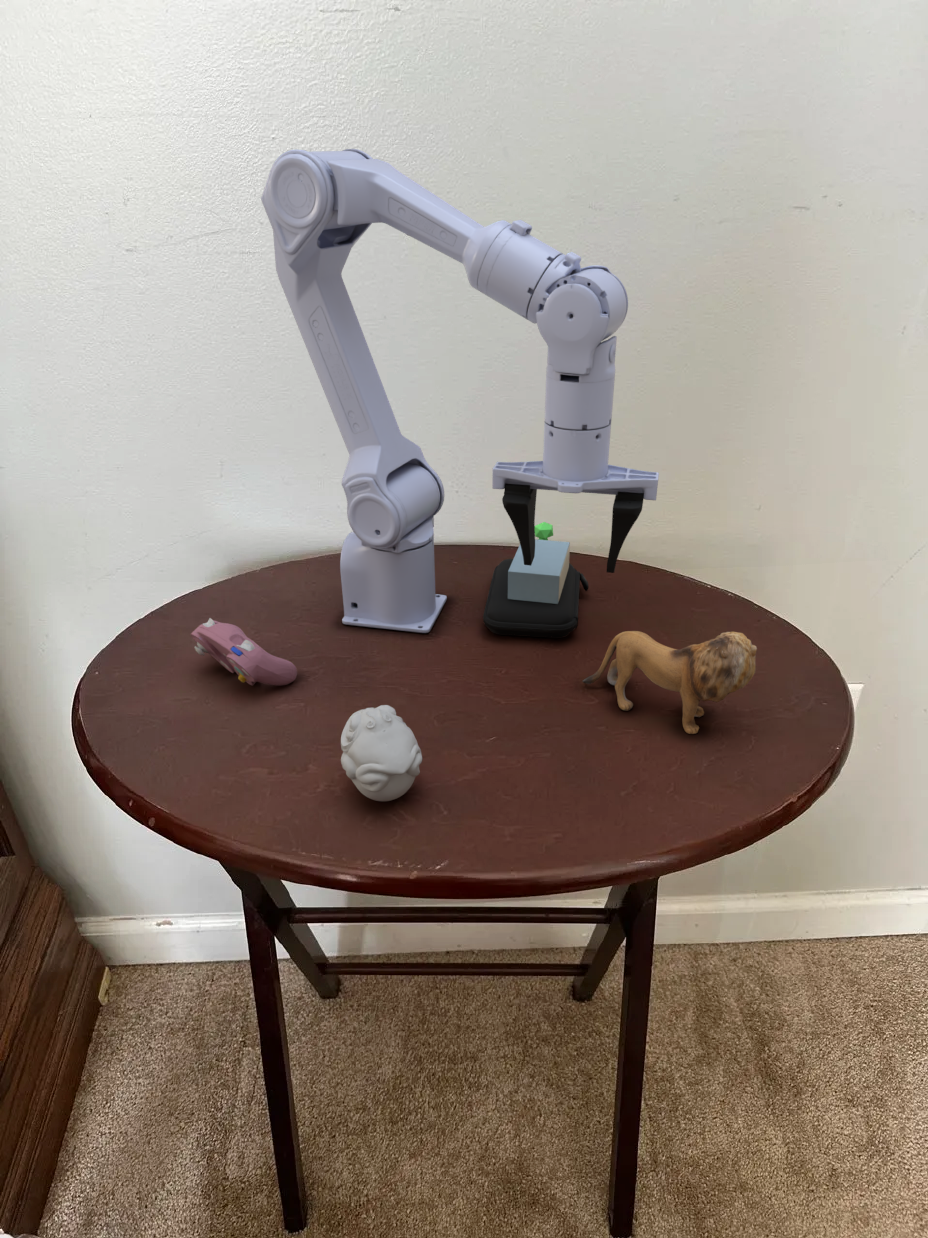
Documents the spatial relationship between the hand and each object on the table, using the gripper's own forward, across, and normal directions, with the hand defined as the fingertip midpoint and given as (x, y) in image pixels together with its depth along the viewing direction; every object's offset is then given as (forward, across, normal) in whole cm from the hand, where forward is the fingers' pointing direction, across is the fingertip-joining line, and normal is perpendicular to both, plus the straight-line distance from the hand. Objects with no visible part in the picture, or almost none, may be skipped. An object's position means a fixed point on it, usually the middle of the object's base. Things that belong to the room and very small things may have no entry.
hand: (569, 564), depth 80 cm
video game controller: (+10, -29, -11) cm, 32 cm away
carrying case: (+10, -4, +8) cm, 13 cm away
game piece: (+10, -5, +18) cm, 21 cm away
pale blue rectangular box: (+6, -4, +8) cm, 11 cm away
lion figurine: (+10, +10, -8) cm, 16 cm away
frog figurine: (+10, -11, -24) cm, 28 cm away
